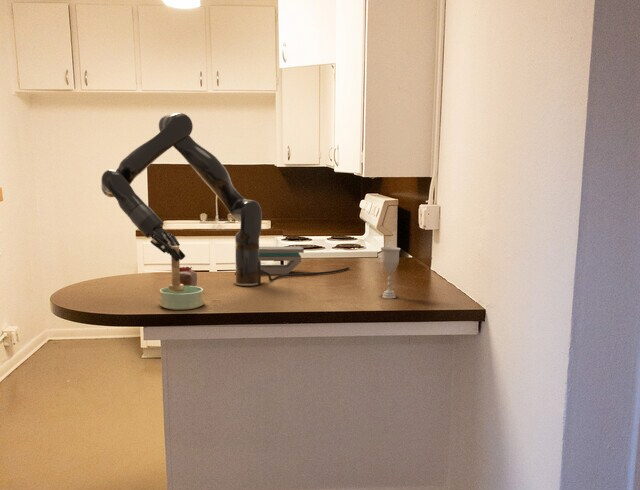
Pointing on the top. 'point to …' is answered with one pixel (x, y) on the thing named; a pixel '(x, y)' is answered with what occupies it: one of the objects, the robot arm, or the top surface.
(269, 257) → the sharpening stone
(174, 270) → the wooden bolt
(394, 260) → the chalice
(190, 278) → the food item
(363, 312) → the top surface
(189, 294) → the bowl
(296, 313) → the top surface
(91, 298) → the top surface
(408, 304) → the top surface
